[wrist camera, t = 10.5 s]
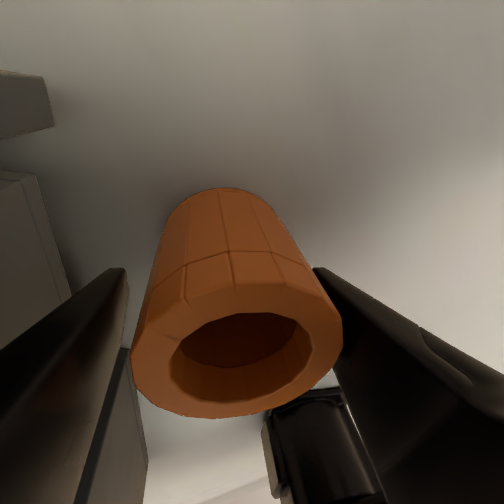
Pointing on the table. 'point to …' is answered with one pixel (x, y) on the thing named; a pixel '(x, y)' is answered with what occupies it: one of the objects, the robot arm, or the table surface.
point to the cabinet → (116, 445)
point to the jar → (231, 312)
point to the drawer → (25, 218)
